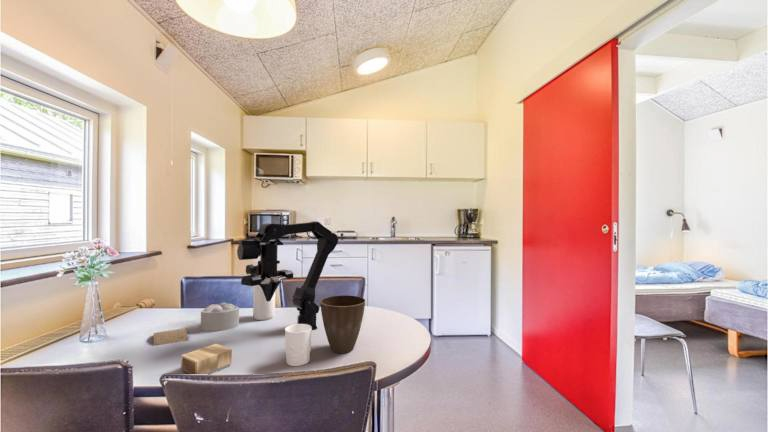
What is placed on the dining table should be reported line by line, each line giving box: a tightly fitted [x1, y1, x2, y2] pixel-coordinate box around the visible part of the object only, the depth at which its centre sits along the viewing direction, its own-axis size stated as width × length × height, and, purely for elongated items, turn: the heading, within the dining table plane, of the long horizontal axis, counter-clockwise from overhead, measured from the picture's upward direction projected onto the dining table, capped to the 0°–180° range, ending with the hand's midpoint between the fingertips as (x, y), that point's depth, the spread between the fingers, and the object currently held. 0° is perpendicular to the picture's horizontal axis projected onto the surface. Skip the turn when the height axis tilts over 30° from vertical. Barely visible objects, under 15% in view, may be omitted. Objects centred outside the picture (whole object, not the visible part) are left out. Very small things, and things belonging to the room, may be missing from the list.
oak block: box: [180, 343, 233, 375], centre depth 91 cm, size 4×8×10 cm
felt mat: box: [206, 364, 231, 375], centre depth 91 cm, size 8×10×1 cm
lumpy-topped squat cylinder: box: [200, 301, 240, 333], centre depth 126 cm, size 10×13×9 cm
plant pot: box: [320, 294, 366, 354], centre depth 105 cm, size 15×15×16 cm
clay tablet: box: [152, 327, 189, 347], centre depth 114 cm, size 14×10×3 cm
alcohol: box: [252, 255, 276, 321], centre depth 138 cm, size 9×9×30 cm
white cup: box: [284, 323, 313, 367], centre depth 96 cm, size 8×8×10 cm
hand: (268, 301), depth 115 cm, fingers closed
